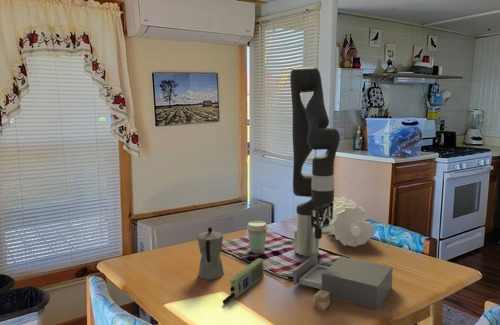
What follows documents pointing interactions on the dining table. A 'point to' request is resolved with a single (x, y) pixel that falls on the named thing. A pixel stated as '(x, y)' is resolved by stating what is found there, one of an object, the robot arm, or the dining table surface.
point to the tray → (309, 273)
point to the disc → (324, 228)
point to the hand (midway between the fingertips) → (322, 235)
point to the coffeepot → (210, 255)
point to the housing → (358, 282)
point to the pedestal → (321, 299)
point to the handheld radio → (245, 279)
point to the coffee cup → (257, 236)
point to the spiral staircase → (350, 223)
